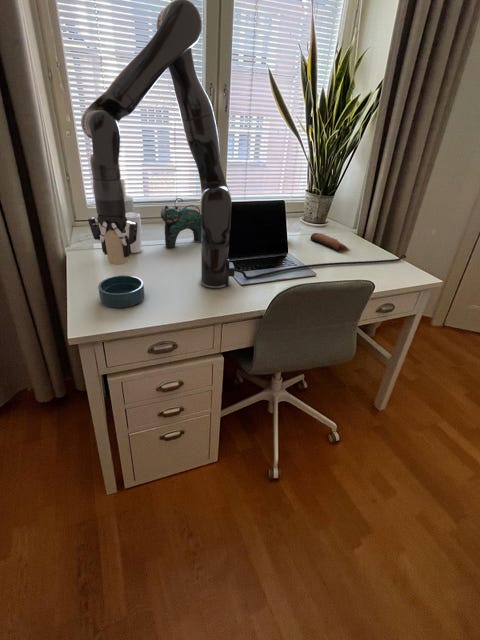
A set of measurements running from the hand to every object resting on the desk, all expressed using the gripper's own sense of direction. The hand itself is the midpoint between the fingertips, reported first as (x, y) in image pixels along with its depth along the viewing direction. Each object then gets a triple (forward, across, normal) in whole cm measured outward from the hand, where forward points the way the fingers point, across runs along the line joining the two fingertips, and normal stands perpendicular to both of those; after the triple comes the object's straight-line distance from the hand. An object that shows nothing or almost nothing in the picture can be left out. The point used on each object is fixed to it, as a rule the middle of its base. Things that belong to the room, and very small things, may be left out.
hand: (117, 255), depth 102 cm
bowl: (+15, 0, 0) cm, 15 cm away
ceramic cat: (+15, -2, -54) cm, 56 cm away
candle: (+2, 0, 0) cm, 2 cm away
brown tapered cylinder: (+15, -66, -76) cm, 102 cm away
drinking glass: (+15, +14, -38) cm, 43 cm away
